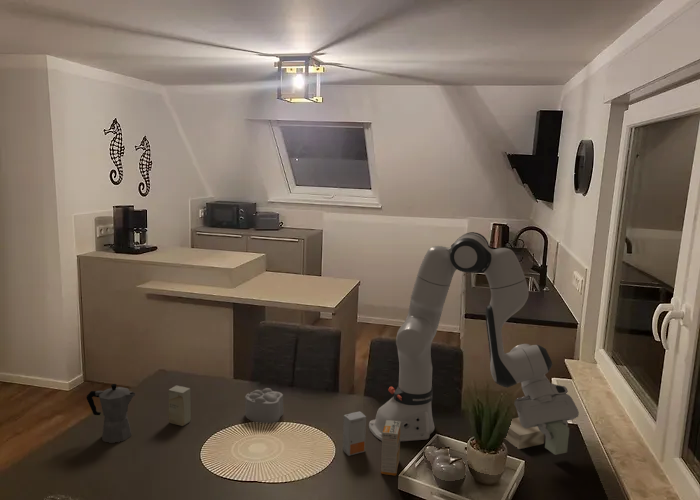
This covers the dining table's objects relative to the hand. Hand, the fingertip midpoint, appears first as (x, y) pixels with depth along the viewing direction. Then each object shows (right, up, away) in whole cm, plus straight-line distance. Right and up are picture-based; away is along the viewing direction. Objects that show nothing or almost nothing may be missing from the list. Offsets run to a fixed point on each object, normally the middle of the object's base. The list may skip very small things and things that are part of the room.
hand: (558, 437), depth 163 cm
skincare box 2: (-62, -6, +5) cm, 63 cm away
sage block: (0, -4, +1) cm, 4 cm away
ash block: (-7, -6, +14) cm, 17 cm away
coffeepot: (-141, -4, +11) cm, 141 cm away
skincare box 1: (-122, -2, +22) cm, 124 cm away
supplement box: (-52, -8, -4) cm, 52 cm away
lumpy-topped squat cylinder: (-94, -2, +27) cm, 98 cm away
